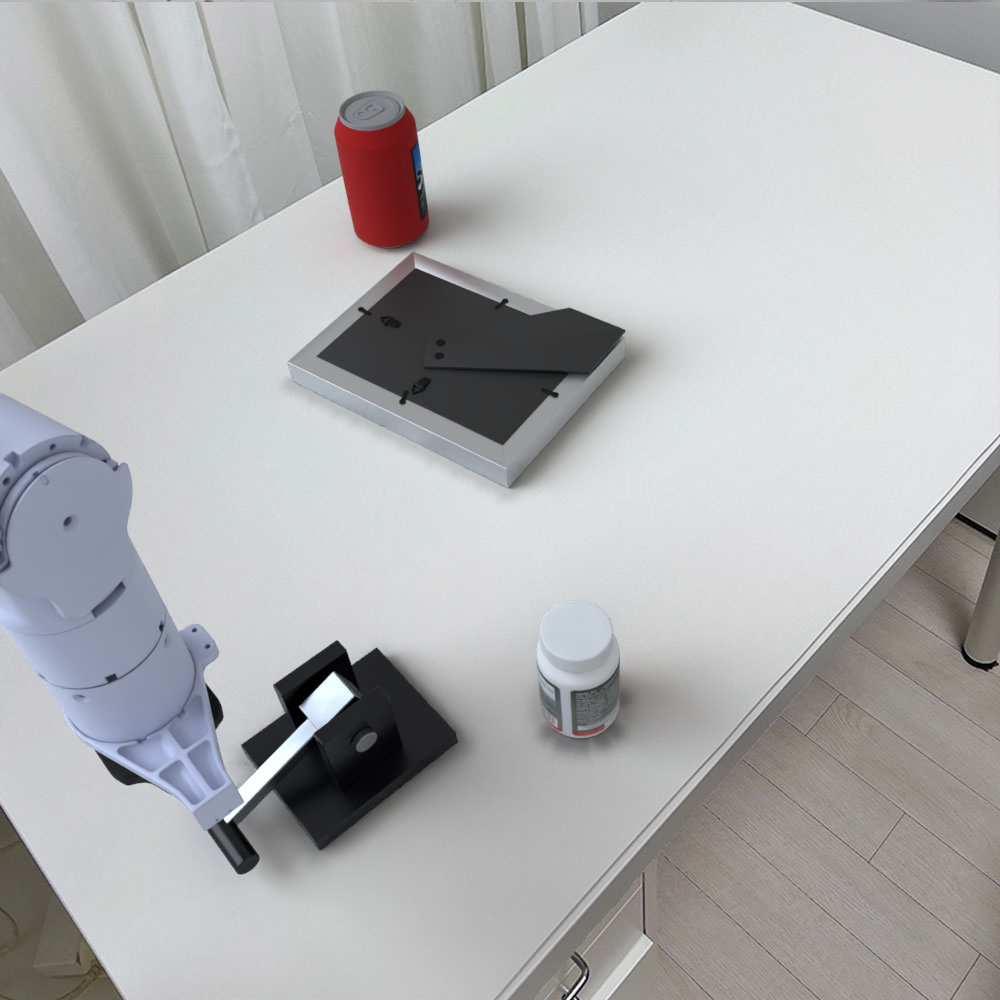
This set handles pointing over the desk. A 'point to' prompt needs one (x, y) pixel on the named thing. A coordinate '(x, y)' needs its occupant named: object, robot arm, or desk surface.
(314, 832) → the bracket
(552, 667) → the pill bottle
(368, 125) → the beverage can
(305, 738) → the tap lever
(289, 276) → the desk surface
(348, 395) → the picture frame
